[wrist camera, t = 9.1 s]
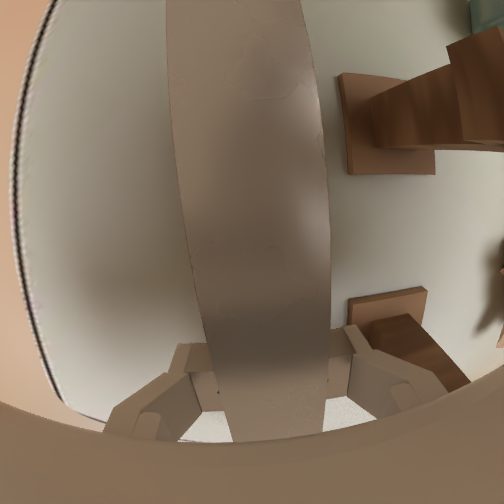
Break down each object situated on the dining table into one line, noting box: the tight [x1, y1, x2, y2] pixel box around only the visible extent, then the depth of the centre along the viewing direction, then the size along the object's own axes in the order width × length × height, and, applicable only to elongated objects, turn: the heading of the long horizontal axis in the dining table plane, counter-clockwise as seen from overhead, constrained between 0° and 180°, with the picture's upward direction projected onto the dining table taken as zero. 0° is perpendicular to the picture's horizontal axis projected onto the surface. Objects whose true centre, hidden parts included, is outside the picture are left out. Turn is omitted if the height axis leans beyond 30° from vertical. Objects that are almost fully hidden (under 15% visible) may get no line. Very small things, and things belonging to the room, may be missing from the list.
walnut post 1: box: [338, 26, 504, 175], centre depth 8 cm, size 6×6×12 cm
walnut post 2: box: [347, 286, 471, 393], centre depth 13 cm, size 6×6×12 cm
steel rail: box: [166, 0, 331, 442], centre depth 9 cm, size 22×3×3 cm, turn 6°
